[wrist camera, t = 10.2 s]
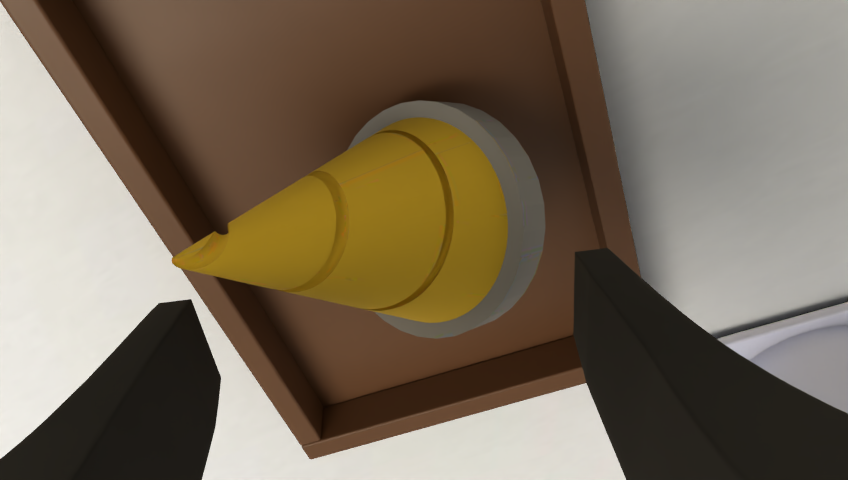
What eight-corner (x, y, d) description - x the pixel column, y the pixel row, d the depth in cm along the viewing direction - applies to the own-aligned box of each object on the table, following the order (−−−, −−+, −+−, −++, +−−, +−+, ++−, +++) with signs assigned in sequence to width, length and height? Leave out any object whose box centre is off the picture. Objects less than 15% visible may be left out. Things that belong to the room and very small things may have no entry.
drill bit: (424, 290, 21) (95, 387, 13) (425, 107, 20) (74, 89, 12) (594, 321, 17) (296, 476, 10) (604, 104, 17) (287, 78, 9)
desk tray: (637, 319, 22) (658, 363, 20) (314, 411, 23) (309, 460, 22) (508, -275, 13) (528, -282, 12) (9, -71, 15) (-37, -50, 13)
